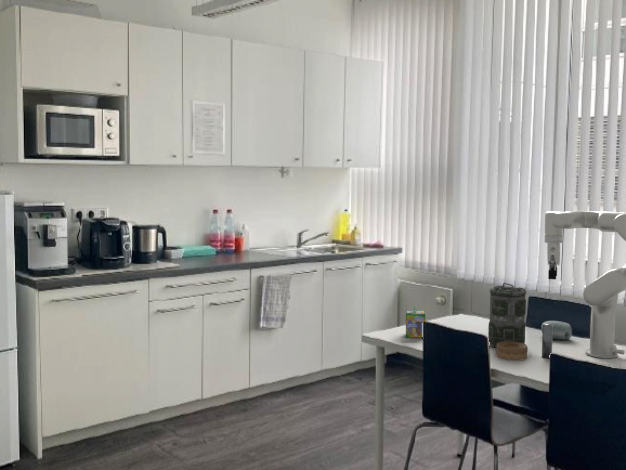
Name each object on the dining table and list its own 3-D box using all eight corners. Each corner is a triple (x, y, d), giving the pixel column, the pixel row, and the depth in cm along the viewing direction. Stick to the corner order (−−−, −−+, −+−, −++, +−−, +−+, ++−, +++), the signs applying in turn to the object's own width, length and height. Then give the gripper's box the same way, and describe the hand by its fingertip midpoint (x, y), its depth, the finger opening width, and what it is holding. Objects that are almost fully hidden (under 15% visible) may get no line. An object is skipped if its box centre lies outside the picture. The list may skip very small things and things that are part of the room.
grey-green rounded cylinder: (577, 331, 327) (569, 314, 324) (572, 344, 321) (564, 326, 318) (548, 334, 336) (541, 317, 333) (543, 346, 329) (536, 329, 326)
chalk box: (425, 338, 327) (425, 307, 325) (405, 337, 328) (405, 306, 327) (425, 334, 336) (425, 303, 334) (405, 333, 337) (406, 302, 336)
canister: (481, 343, 318) (482, 281, 316) (510, 340, 324) (512, 279, 321) (502, 351, 304) (503, 287, 301) (532, 348, 309) (534, 285, 307)
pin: (553, 357, 295) (554, 324, 294) (549, 359, 292) (550, 325, 291) (543, 355, 297) (544, 322, 296) (540, 357, 294) (541, 324, 293)
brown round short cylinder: (530, 355, 297) (531, 344, 296) (520, 361, 287) (520, 349, 287) (503, 351, 304) (504, 339, 304) (492, 357, 295) (492, 345, 294)
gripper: (561, 241, 301) (561, 280, 302) (563, 237, 317) (562, 275, 318) (543, 240, 304) (542, 280, 305) (545, 237, 320) (544, 274, 321)
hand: (552, 277), depth 312 cm, fingers open, 9 cm apart
